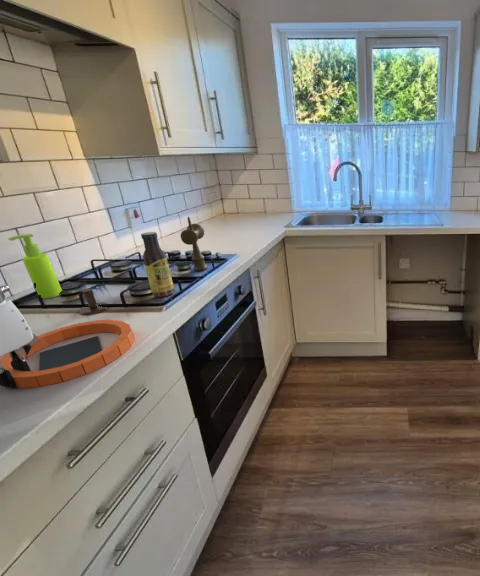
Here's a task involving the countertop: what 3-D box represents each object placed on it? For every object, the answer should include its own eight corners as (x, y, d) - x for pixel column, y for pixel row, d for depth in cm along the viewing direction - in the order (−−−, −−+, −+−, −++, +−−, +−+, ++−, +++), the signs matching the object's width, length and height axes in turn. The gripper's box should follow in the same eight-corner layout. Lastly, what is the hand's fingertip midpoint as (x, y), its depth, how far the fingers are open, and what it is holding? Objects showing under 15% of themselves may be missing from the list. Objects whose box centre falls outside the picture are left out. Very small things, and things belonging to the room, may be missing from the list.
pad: (39, 374, 77) (39, 373, 76) (40, 353, 84) (39, 352, 84) (102, 354, 83) (102, 353, 83) (97, 337, 91) (97, 335, 91)
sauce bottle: (163, 299, 111) (145, 236, 104) (148, 297, 113) (129, 235, 106) (180, 291, 117) (164, 231, 109) (165, 289, 119) (149, 230, 111)
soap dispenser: (32, 297, 116) (5, 236, 108) (59, 289, 121) (35, 231, 113) (38, 301, 112) (10, 239, 105) (65, 293, 118) (41, 233, 110)
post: (80, 317, 101) (72, 297, 99) (78, 309, 106) (71, 290, 104) (110, 309, 105) (103, 290, 103) (107, 302, 110) (100, 283, 108)
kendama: (212, 264, 141) (200, 213, 133) (206, 273, 132) (193, 219, 125) (195, 266, 140) (183, 214, 132) (188, 274, 131) (174, 220, 123)
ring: (-6, 404, 68) (-12, 393, 67) (7, 352, 85) (2, 342, 84) (141, 356, 82) (137, 346, 81) (127, 319, 99) (124, 311, 98)
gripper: (10, 283, 75) (46, 358, 82) (-101, 319, 61) (-46, 405, 68) (37, 286, 73) (71, 362, 80) (-71, 323, 59) (-18, 412, 66)
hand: (17, 381), depth 74 cm, fingers closed on ring, 2 cm apart
